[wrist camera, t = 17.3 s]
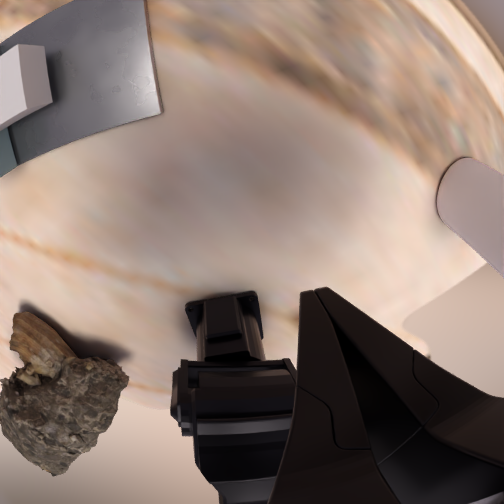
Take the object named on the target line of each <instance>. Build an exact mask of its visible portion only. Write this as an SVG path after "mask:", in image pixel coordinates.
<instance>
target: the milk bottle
mask: <svg viewBox="0 0 504 504" xmlns="http://www.w3.org/2000/svg"><path fill="white" fill-rule="evenodd" d="M437 208H438V212H439V215H440V218H441V220H442V221H443V222H444V223H445V224H446V225H447V226H448V227H449V228H450V229H451V230H452V231H454V232H455V233H456V234H457V235H458V236H459V237H460V238H462V239H463V240H464V241H465V242H466V243H467V244H468V245H469V246H471V247H472V248H473V249H474V250H475V251H476V252H477V253H478V254H479V255H480V256H481V257H482V258H484V259H485V260H486V261H487V262H488V263H489V264H490V265H491V266H492V267H493V268H494V269H495V270H496V271H497V272H498V273H499V274H500V275H501V276H502V277H503V278H504V174H502V173H500V172H498V171H497V170H495V169H493V168H491V167H489V166H487V165H486V164H484V163H482V162H480V161H478V160H475V159H473V158H462V159H460V160H458V161H456V162H455V163H454V164H453V165H452V166H450V168H449V169H448V170H447V172H446V173H445V175H444V177H443V179H442V181H441V184H440V187H439V191H438V196H437Z"/></svg>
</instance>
